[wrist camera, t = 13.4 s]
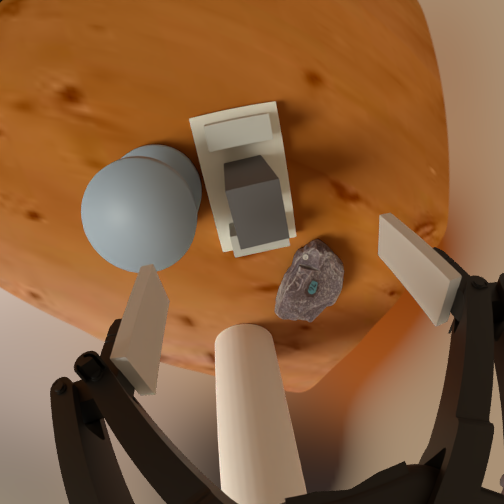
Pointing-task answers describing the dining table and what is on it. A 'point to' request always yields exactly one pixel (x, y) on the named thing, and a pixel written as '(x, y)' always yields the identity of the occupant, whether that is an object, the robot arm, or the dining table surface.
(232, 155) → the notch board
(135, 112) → the dining table surface
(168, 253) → the spool
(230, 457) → the cylinder container
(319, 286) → the rock
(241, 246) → the gray rectangular block
